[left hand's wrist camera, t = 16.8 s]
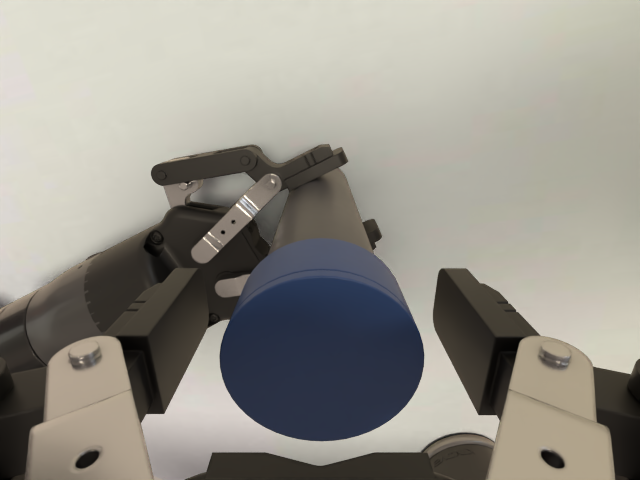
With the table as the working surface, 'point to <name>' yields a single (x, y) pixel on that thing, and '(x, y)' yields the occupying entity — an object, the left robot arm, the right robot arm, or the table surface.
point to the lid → (321, 343)
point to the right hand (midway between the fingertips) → (360, 192)
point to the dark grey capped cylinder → (321, 213)
